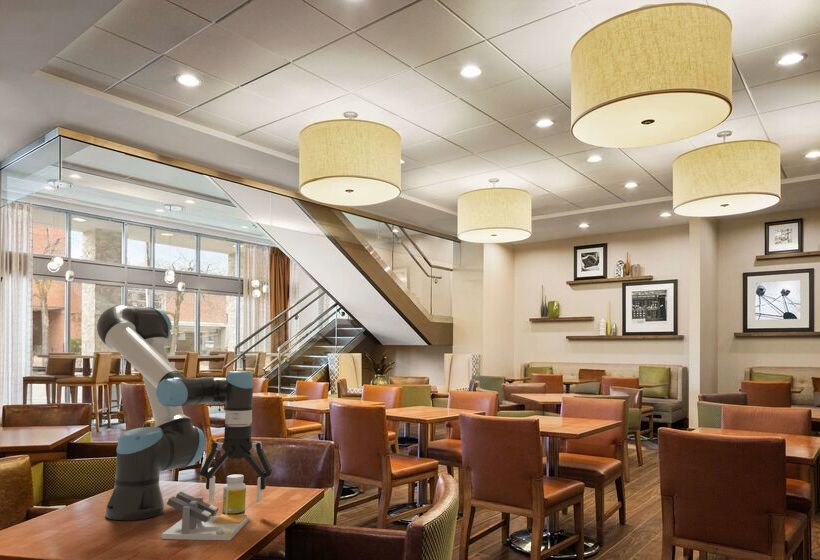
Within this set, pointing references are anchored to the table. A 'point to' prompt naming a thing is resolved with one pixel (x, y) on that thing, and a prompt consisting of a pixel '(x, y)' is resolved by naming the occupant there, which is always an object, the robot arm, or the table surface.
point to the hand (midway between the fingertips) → (235, 501)
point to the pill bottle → (234, 495)
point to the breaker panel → (205, 526)
